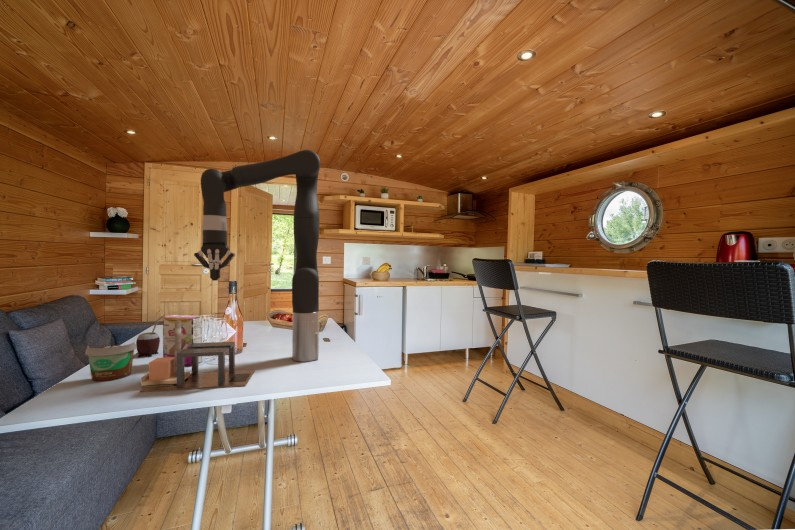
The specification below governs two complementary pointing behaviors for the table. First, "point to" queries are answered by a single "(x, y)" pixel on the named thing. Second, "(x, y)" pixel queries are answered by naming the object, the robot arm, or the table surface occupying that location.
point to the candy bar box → (189, 334)
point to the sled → (173, 379)
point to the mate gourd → (148, 343)
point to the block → (162, 368)
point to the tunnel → (209, 378)
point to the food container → (110, 362)
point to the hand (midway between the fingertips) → (215, 280)
